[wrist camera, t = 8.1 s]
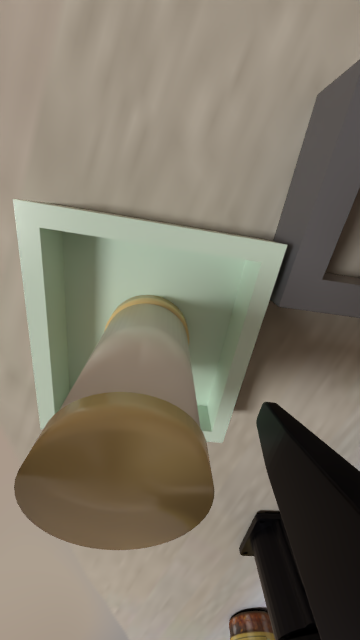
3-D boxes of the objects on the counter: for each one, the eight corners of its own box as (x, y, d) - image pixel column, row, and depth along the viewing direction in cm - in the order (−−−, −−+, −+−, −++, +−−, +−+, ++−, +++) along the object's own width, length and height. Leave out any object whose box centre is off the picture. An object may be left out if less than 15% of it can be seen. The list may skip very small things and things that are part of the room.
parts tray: (214, 409, 16) (222, 442, 13) (60, 395, 15) (40, 429, 12) (263, 239, 11) (287, 244, 9) (47, 202, 10) (12, 198, 8)
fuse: (181, 368, 13) (194, 552, 6) (107, 361, 13) (25, 547, 6) (194, 300, 12) (235, 439, 4) (109, 289, 11) (-1, 421, 4)
